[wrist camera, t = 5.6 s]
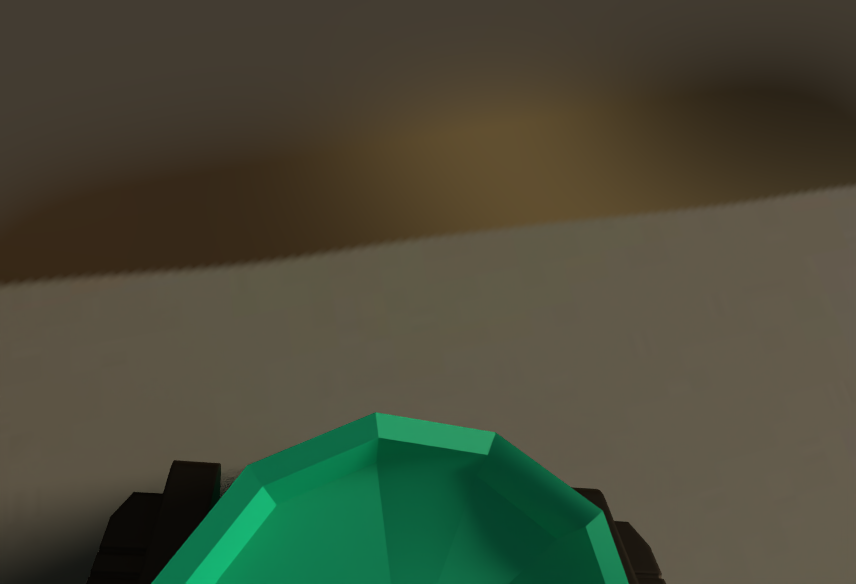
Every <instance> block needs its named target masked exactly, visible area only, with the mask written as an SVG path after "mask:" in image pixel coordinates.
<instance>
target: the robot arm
mask: <svg viewBox="0 0 856 584" xmlns="http://www.w3.org/2000/svg"><path fill="white" fill-rule="evenodd" d="M220 479H221V464H220V463H206V462H191V461H176V460H174V461H173V463H172V465H171V468H170V472H169V475H168V479H167V482H166V485H165V489H164V492H163V494H159V493H141V492H133V493H132V494H131V495H130V497H129V498H128V499H127V500H126V501H125V502H124V503H123V504H122V505H121V506H120V507H119V508H118V509H117V510H116V511H115V512H114V514H113V515H112V516H111V517H110V519H109V522H108V525H107V528H106V530H105V533H104V536H103V539H102V541H101V544H100V549H99V552H97V555H96V558H95V561H94V563H93V566H92V569H91V574H90V577H88V580H87V583H86V584H151V583H152V582H153V581H154V580H155V578H156V577H157V576H158V575H159V573H160V572H161V571H162V570H163V568H164V567H165V566H166V565H167V564H168V562H169V561H170V560H171V559H172V557H173V556H174V555H175V554H176V552H177V551H178V550H179V549H180V548H181V546H182V545H183V544H184V543H185V541H186V540H187V539H188V538H189V537H190V535H191V534H192V533H193V532H194V530H195V529H196V528H197V527H198V525H199V524H200V523H201V522H202V521H203V519H204V518H205V517H206V516H207V514H208V513H209V512H210V511H211V509H212V508H213V507H214V506H215V505H216V503H217V502H218V501H219V498H220ZM571 488H572V487H571ZM572 489H574V490H575V491H577V492H578V493H579V494H581V495H582V496H583V497H585V498H586V499H587V500H589V501H590V502H592V503H593V504H594V505H596V506H597V507H598V508H600V509H601V510H603V512H604V515H605V518H606V521H607V524H608V526H609V529H610V532H611V535H612V538H613V540H614V543H615V546H616V549H617V552H618V555H619V557H620V560H621V563H622V566H623V569H624V571H625V574H626V577H627V580H628V583H629V584H666V583H665V580H664V579H662V578H661V574H662V573H661V571H660V569H659V567H658V564H657V562H656V560H655V557H654V555H653V553H652V550H651V548H650V546H649V545H648V544H647V543H646V542H645V541H644V539H643V538H642V537H641V536H640V535H639V534H638V533H637V531H636V530H635V529H634V528H633V527H632V526H631V525H630V524H629V522H620V521H614V520H613V517H612V515H611V512H610V510H609V507H608V505H607V502H606V500H605V498H604V495H603V494H602V492H601V491H600V490H598V489H588V488H572Z"/></svg>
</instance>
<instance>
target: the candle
mask: <svg viewBox="0 0 856 584" xmlns="http://www.w3.org/2000/svg"><path fill="white" fill-rule="evenodd" d="M151 584H629V583H628V580H627V577H626V574H625V571H624V569H623V566H622V563H621V560H620V557H619V555H618V552H617V549H616V546H615V543H614V540H613V538H612V535H611V532H610V529H609V526H608V524H607V521H606V518H605V515H604V512H603V510H601V509H600V508H598V507H597V506H596V505H594V504H593V503H592V502H590V501H589V500H587V499H586V498H585V497H583V496H582V495H581V494H579V493H578V492H577V491H575V490H574V489H572V488H571V487H570V486H568V485H567V484H566V483H564V482H563V481H561V480H560V479H559V478H557V477H556V476H555V475H553V474H552V473H550V472H549V471H548V470H546V469H545V468H544V467H542V466H541V465H540V464H538V463H537V462H535V461H534V460H533V459H531V458H530V457H529V456H527V455H526V454H524V453H523V452H522V451H520V450H519V449H518V448H516V447H515V446H513V445H512V444H511V443H509V442H508V441H507V440H505V439H504V438H503V437H501V436H500V435H498V434H497V433H496V432H490V431H484V430H478V429H472V428H466V427H460V426H454V425H448V424H442V423H436V422H430V421H424V420H418V419H412V418H406V417H400V416H394V415H388V414H382V413H376V412H375V413H373V414H370V415H368V416H365V417H363V418H361V419H358V420H356V421H353V422H351V423H349V424H346V425H344V426H341V427H339V428H336V429H334V430H332V431H329V432H327V433H324V434H322V435H320V436H317V437H315V438H312V439H310V440H307V441H305V442H303V443H300V444H298V445H295V446H293V447H290V448H288V449H286V450H283V451H281V452H278V453H276V454H274V455H271V456H269V457H266V458H264V459H261V460H259V461H257V462H254V463H252V464H249V465H247V466H246V468H245V469H244V470H243V471H242V473H241V474H240V475H239V476H238V478H237V479H236V480H235V481H234V482H233V484H232V485H231V486H230V487H229V489H228V490H227V491H226V492H225V493H224V495H223V496H222V497H221V498H220V500H219V501H218V502H217V503H216V505H215V506H214V507H213V508H212V509H211V511H210V512H209V513H208V514H207V516H206V517H205V518H204V519H203V521H202V522H201V523H200V524H199V525H198V527H197V528H196V529H195V530H194V532H193V533H192V534H191V535H190V537H189V538H188V539H187V540H186V541H185V543H184V544H183V545H182V546H181V548H180V549H179V550H178V551H177V552H176V554H175V555H174V556H173V557H172V559H171V560H170V561H169V562H168V564H167V565H166V566H165V567H164V568H163V570H162V571H161V572H160V573H159V575H158V576H157V577H156V578H155V580H154V581H153V582H152V583H151Z"/></svg>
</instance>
